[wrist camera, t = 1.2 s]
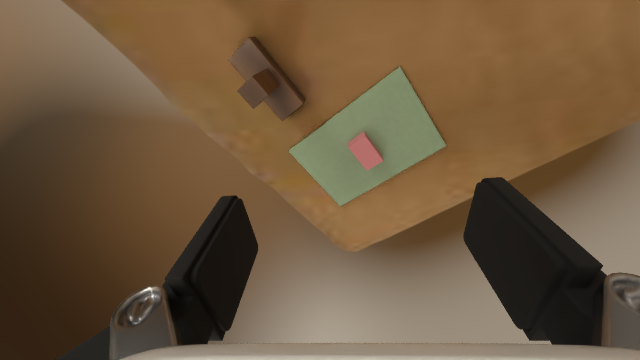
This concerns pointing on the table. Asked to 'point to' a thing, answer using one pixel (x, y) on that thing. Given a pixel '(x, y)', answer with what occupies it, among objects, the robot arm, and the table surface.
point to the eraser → (365, 151)
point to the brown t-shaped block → (265, 80)
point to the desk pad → (383, 130)
